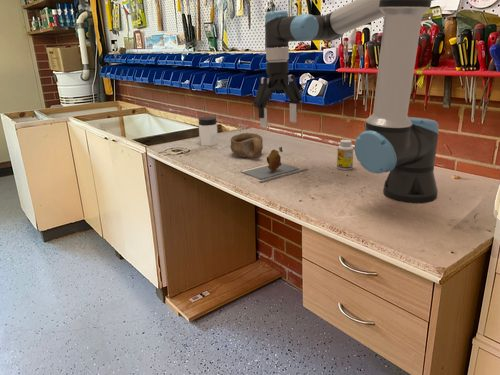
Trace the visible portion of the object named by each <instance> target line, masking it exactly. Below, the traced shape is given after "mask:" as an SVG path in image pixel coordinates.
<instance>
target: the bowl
mask: <svg viewBox="0 0 500 375" xmlns="http://www.w3.org/2000/svg"><path fill="white" fill-rule="evenodd" d="M263 146H264V145H263V136H261V135H259V134H258V133H252V132H251V133H249V132H244V133H240V134H235V135H233V136H232V137H231V138H230V151H231V152H232V153H233V154H234V155H236V156H238V157H241V158H259V157H260V156H261V155H262V151H263V148H264V147H263Z"/></svg>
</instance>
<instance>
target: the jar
mask: <svg viewBox="0 0 500 375" xmlns="http://www.w3.org/2000/svg"><path fill="white" fill-rule="evenodd" d="M217 121H218V119H217V117H216V116H203V117H199V118H198V136H199V144H200V146H202V147H213V146H218V145H217V144H219V137H218V124H217V123H218V122H217Z"/></svg>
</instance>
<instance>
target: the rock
mask: <svg viewBox="0 0 500 375" xmlns="http://www.w3.org/2000/svg"><path fill="white" fill-rule="evenodd" d="M270 151H271V152H270V153H269V155H268V156H266V163H267V164H269V165H268V168H269V169H270V170H271V171H273V172H275V171H276V169H277V168H278V167H279V166H281V163H282V162H281V155H280V154H279V152H280V153H284V152H283V147H282V146H280V147H278V150H277V149H272V150H270Z"/></svg>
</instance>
